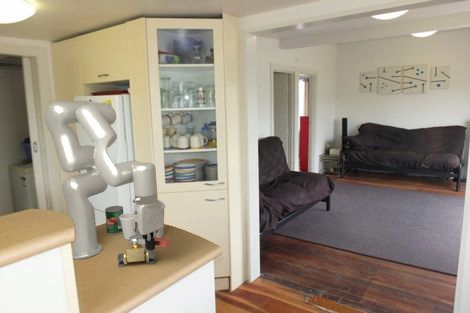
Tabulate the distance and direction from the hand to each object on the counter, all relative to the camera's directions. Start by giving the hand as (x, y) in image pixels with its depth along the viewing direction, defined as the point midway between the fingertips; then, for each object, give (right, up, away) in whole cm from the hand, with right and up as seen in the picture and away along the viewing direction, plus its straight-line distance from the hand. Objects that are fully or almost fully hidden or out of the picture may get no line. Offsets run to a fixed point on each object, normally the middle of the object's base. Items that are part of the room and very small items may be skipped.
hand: (150, 249), depth 118 cm
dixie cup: (-17, -3, +31) cm, 35 cm away
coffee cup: (-6, -3, +32) cm, 32 cm away
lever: (-2, +1, +4) cm, 4 cm away
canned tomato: (-26, -2, +39) cm, 47 cm away
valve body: (-7, -7, +7) cm, 12 cm away
